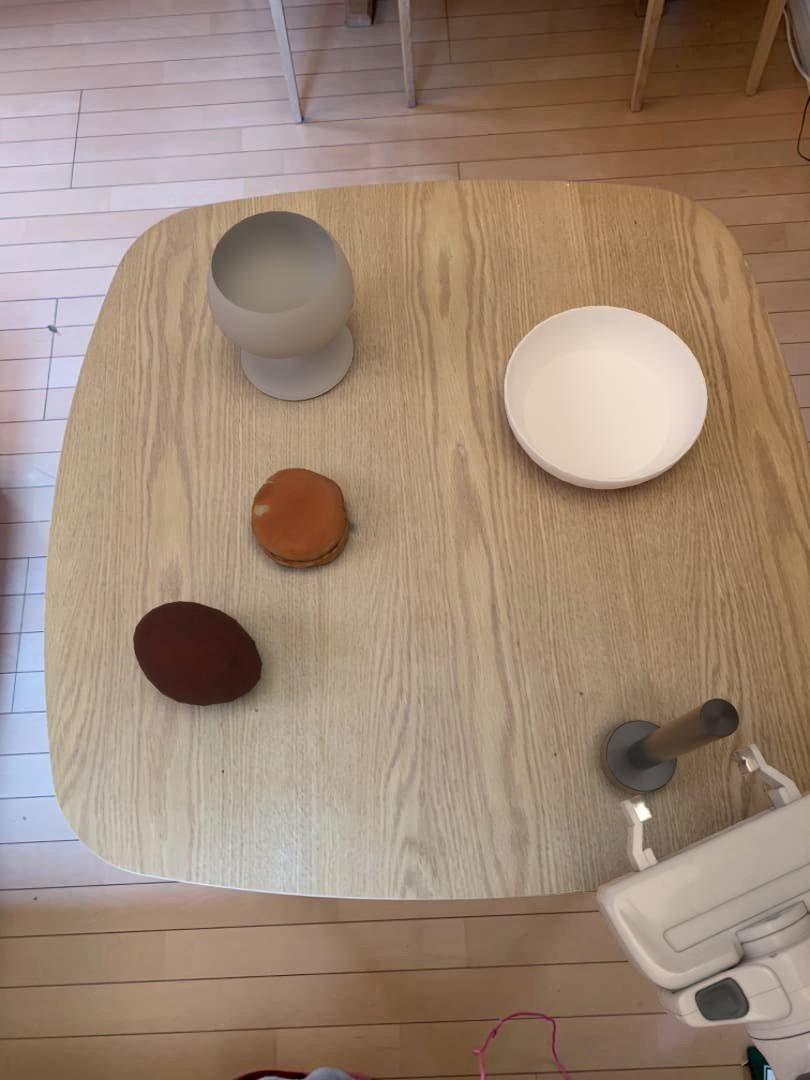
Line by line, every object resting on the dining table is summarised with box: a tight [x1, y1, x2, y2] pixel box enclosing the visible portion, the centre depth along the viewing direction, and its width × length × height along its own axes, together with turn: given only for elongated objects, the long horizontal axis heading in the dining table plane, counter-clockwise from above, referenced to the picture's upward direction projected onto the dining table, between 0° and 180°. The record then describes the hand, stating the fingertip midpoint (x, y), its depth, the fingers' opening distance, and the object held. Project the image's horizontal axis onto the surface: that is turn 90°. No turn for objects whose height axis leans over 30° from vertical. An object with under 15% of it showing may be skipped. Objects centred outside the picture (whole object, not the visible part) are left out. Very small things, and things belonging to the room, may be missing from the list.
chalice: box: [206, 210, 355, 401], centre depth 84 cm, size 14×14×15 cm
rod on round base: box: [599, 698, 740, 795], centre depth 64 cm, size 6×6×24 cm
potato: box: [132, 600, 263, 707], centre depth 75 cm, size 9×12×9 cm
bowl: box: [503, 305, 709, 490], centre depth 85 cm, size 20×20×6 cm
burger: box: [250, 467, 350, 569], centre depth 82 cm, size 10×9×5 cm
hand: (686, 772), depth 63 cm, fingers open, 8 cm apart
